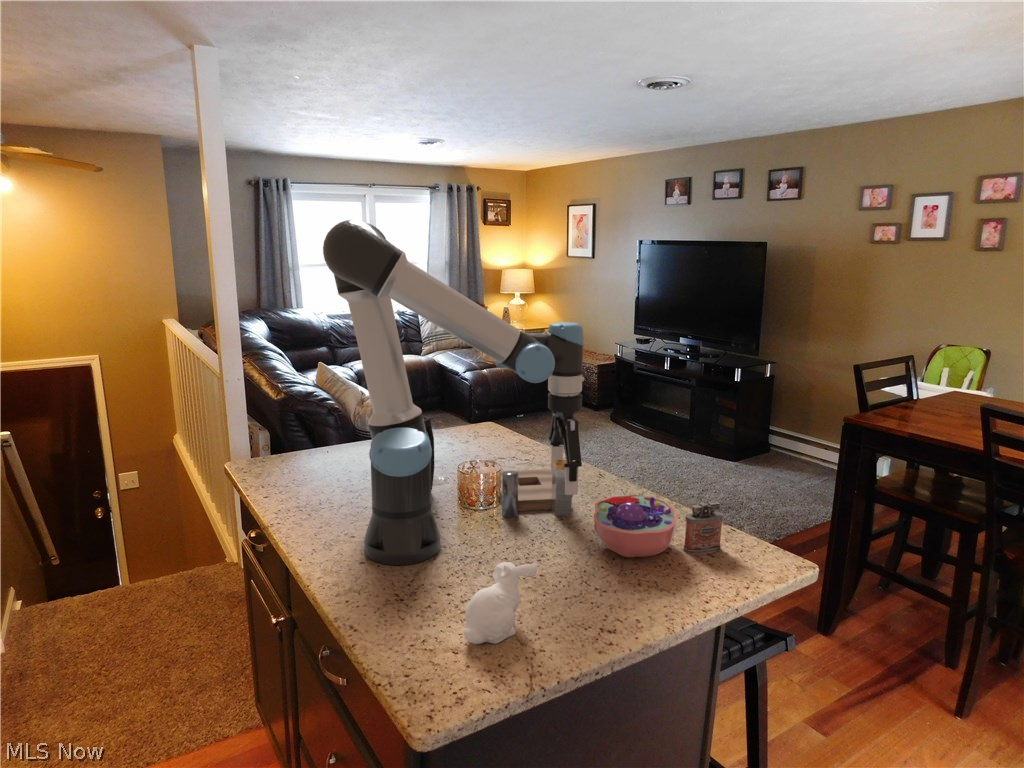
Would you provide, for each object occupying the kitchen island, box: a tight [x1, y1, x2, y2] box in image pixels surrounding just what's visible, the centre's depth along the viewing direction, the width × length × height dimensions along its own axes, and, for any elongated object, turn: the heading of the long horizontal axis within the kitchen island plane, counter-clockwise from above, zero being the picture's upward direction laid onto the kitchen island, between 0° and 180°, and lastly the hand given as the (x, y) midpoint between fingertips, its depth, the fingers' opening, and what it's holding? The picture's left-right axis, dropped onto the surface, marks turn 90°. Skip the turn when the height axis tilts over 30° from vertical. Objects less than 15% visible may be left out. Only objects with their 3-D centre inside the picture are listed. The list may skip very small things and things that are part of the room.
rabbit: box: [463, 561, 538, 645], centre depth 97 cm, size 12×9×12 cm
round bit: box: [501, 470, 519, 519], centre depth 141 cm, size 4×4×10 cm
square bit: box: [550, 459, 573, 517], centre depth 143 cm, size 4×4×12 cm
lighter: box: [682, 501, 724, 555], centre depth 126 cm, size 8×3×10 cm, turn 105°
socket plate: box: [499, 468, 552, 512], centre depth 155 cm, size 20×16×2 cm
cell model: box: [593, 494, 678, 558], centre depth 125 cm, size 17×20×11 cm
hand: (563, 483), depth 143 cm, fingers open, 13 cm apart
